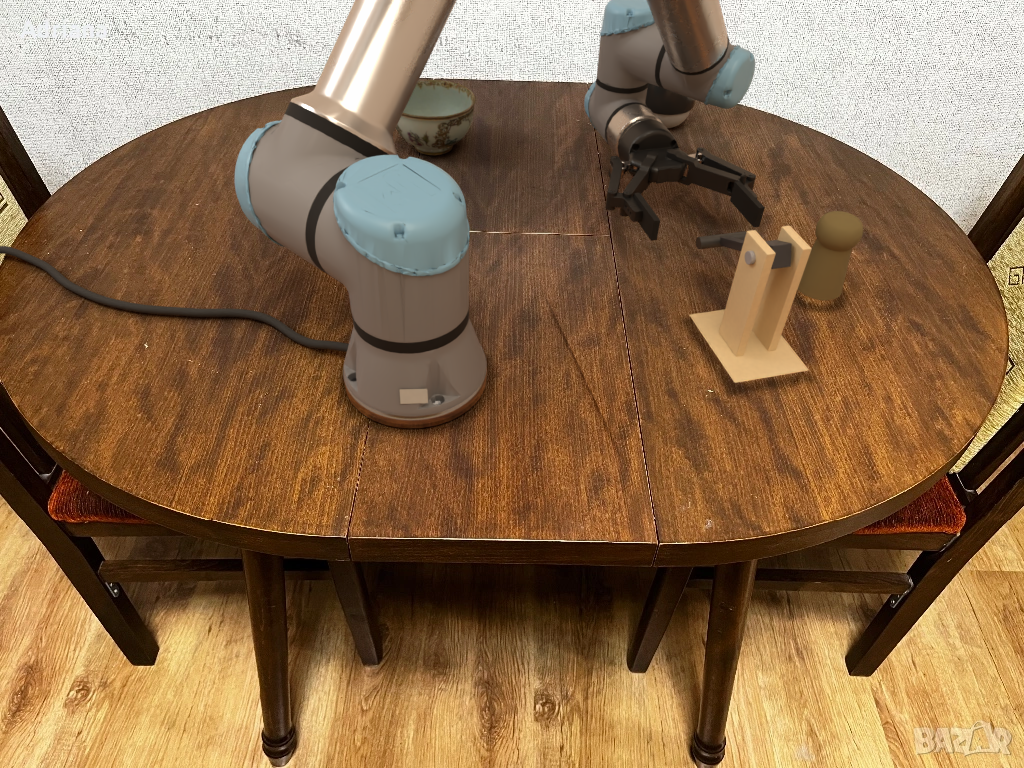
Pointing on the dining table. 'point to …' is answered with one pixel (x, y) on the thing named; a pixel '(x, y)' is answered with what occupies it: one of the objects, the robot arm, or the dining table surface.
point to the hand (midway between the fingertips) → (708, 224)
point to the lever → (736, 243)
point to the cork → (830, 255)
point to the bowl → (436, 116)
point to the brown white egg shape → (668, 105)
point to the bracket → (757, 311)
